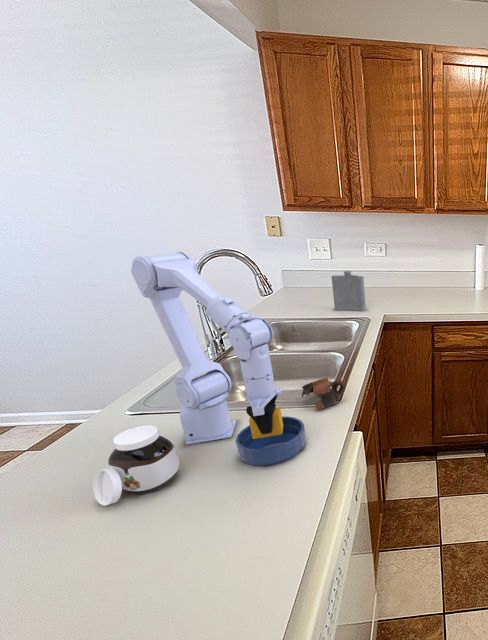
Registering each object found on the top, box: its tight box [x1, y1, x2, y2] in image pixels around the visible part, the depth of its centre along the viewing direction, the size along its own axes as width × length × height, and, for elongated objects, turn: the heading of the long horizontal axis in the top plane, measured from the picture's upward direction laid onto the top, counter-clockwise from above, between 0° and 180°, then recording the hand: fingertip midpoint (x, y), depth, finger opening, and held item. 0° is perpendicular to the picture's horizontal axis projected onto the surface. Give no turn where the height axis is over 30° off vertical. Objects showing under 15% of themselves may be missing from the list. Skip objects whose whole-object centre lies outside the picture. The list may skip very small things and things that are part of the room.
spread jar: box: [92, 424, 180, 506], centre depth 78 cm, size 12×11×12 cm
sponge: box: [248, 407, 283, 439], centre depth 91 cm, size 6×4×5 cm, turn 111°
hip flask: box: [331, 270, 367, 312], centre depth 202 cm, size 16×4×20 cm, turn 90°
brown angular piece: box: [301, 377, 346, 411], centre depth 115 cm, size 12×10×8 cm
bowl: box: [235, 415, 307, 467], centre depth 93 cm, size 14×14×4 cm
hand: (267, 427), depth 91 cm, fingers closed on sponge, 4 cm apart
